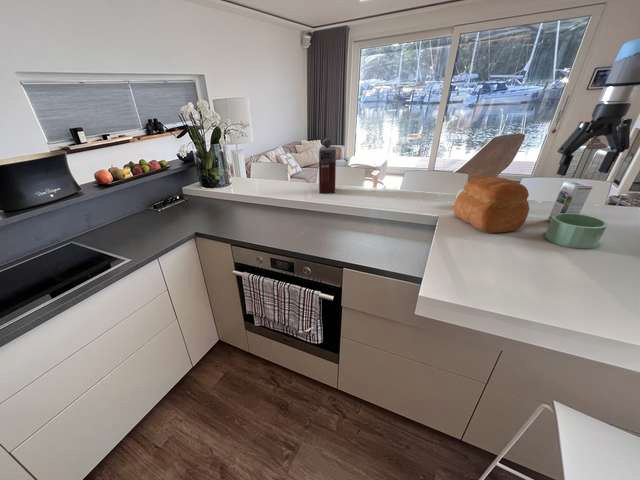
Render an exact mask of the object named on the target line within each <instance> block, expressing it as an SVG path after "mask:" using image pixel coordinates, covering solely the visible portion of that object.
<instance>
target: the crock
mask: <svg viewBox="0 0 640 480" xmlns="http://www.w3.org/2000/svg"><path fill="white" fill-rule="evenodd" d="M608 226H609V224H608V222H607V221H606V220H604V219H602V218H599V217H596V216H592V215H589V214H582V213H580V214H575V213H559V214H555V215H554V216H553V217H552V219H551V221H549V224H548V226H547V229H546V231H545V233H544V238H545V239H546V240H547V241H549V242H550V243H553V244H556V245H559V246H563V247H566V248H572V249H584V250H585V249H594V248H596V247H597V245H598V244H599V242H600V241H601V239H602V237H603V235H604V234H605V231H606V229H607V228H608Z"/></svg>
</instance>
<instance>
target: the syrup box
mask: <svg viewBox="0 0 640 480" xmlns="http://www.w3.org/2000/svg"><path fill="white" fill-rule="evenodd" d="M593 187H594V186H593V185H589V184H587V183H584V182H582V181H564V182H563V183H562V186H561V188H560V190H559V191H558V192H559V193H558V195H557V197H556V200H555V202H554V204H553V206H552V209H551V210H550V213H549V215H548V217H547V221H549V222H550V221H551V219H552V217H553V216H554V215H555V214H559V213H575V214H581V212H582V210H583V208H584V206H585V204H586V202H587V199H588V198H589V196H590V193H591V192H592V189H593Z"/></svg>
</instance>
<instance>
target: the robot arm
mask: <svg viewBox="0 0 640 480" xmlns="http://www.w3.org/2000/svg"><path fill="white" fill-rule="evenodd" d="M639 89H640V38H639V39H632V40H628V41H627V42H625V43H624V44H623V45H622V46H621V47H620V50H619V51H618V54H617V56H616V58H615V60H614V61H613V64H612V67H611V69H610V71H609V73H608V76H607V79H606V81H605V83H604V86H603V88H602V91H601V93H600V94H599V97H598V100H597V101H598V102H599V103H596V105H595V106H594V109H593V111H592V114H591V120H590V121H582V120H581V121H580V122H579V123H578V124H577V127H576V128H575V129H574V131H573V132H572V133H571V134H570V135H569V137H568V138H567V139H566V140H565V141H564V142H563V144H561V146H560V147H559V148H558V149H557V152H556V153H559V154H560V155H561V158H560V161H559V164H558V165H559V166H558V169H557V172H556V175H559V176H564V177H565V176H566V175H567V172H568V170H569V168H570V165H571V164H572V161H573V159H574V157H575V156H574V153H575V152H577V151H578V150H579V149H580V148H581V147H582V146H584V145H585V144H586V143H587V142H588V141H590V140H591V139H593V138H595V137H601V136H602V137H606V138H605V139H606V141H607V144H608V147H609V149H610V150H608V151H606V154H605V156H604V158H603V159H602V162H601V164H600V166H599V168H598V170H597V172H599V173H603V174H608V173H609V172H610V169H611V168H612V166H613V164H614V163H615V162H616V160H617V158H618V156H619V155H620V154H621V153H624V152H625V151H627V150H629V149H630V146H631V145H630V144H631V143H630V140H631V139H630V138H631V132H630V131H631V125H632V123H633V118H624V117H626V116H627V114H628V112H629V110H630V108H631V106H632V103H631V102H632V101H634V99H635V98H636V96H637V94H638V92H639Z"/></svg>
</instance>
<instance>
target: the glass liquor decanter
mask: <svg viewBox="0 0 640 480" xmlns="http://www.w3.org/2000/svg"><path fill="white" fill-rule="evenodd" d="M322 143H323V144H322V145H323V146H320V147H319V148H318V194H319V195H321V194H322V195H323V194H336V176H337V175H336V174H337V173H336V171H337V169H336V168H337V165H336V164H337V148H336V146H335V145H334V146H333V145H332V140H331V138H324V140H323V141H322Z"/></svg>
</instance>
